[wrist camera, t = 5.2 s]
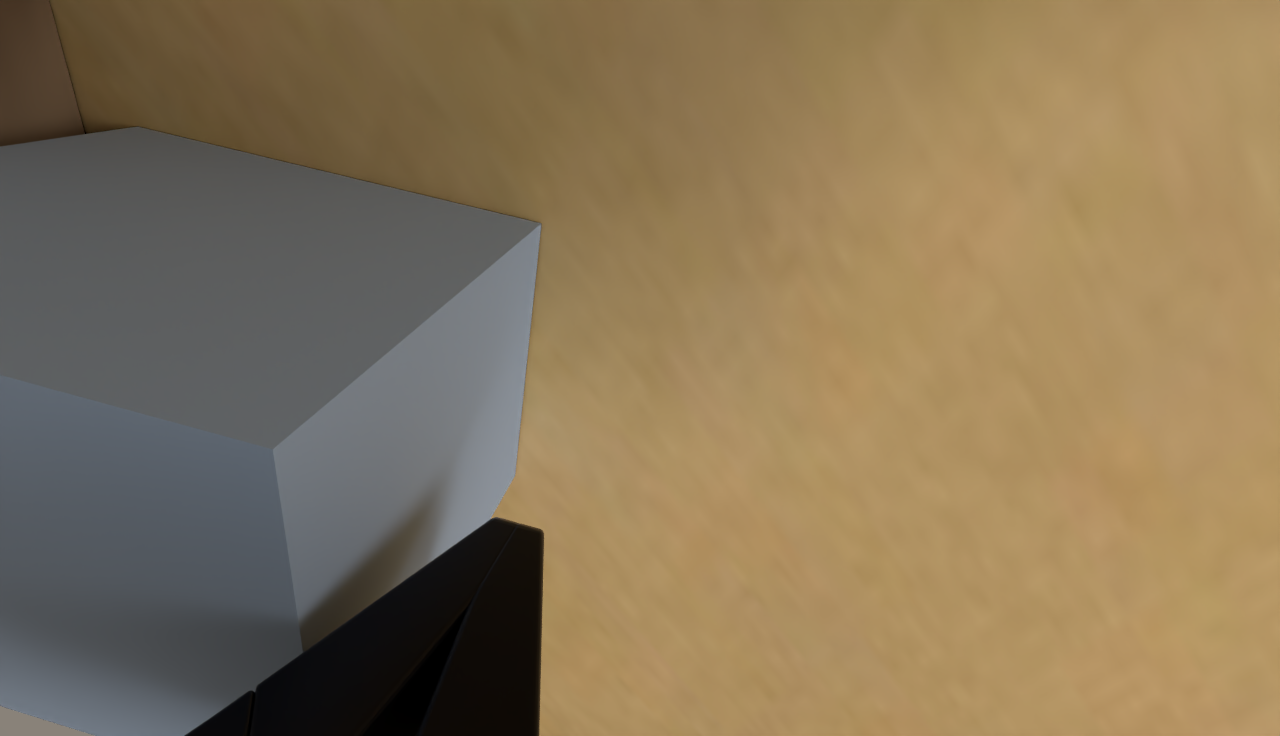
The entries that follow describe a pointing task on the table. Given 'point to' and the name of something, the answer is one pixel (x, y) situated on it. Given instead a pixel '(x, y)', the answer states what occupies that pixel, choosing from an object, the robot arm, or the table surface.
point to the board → (33, 76)
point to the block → (232, 413)
